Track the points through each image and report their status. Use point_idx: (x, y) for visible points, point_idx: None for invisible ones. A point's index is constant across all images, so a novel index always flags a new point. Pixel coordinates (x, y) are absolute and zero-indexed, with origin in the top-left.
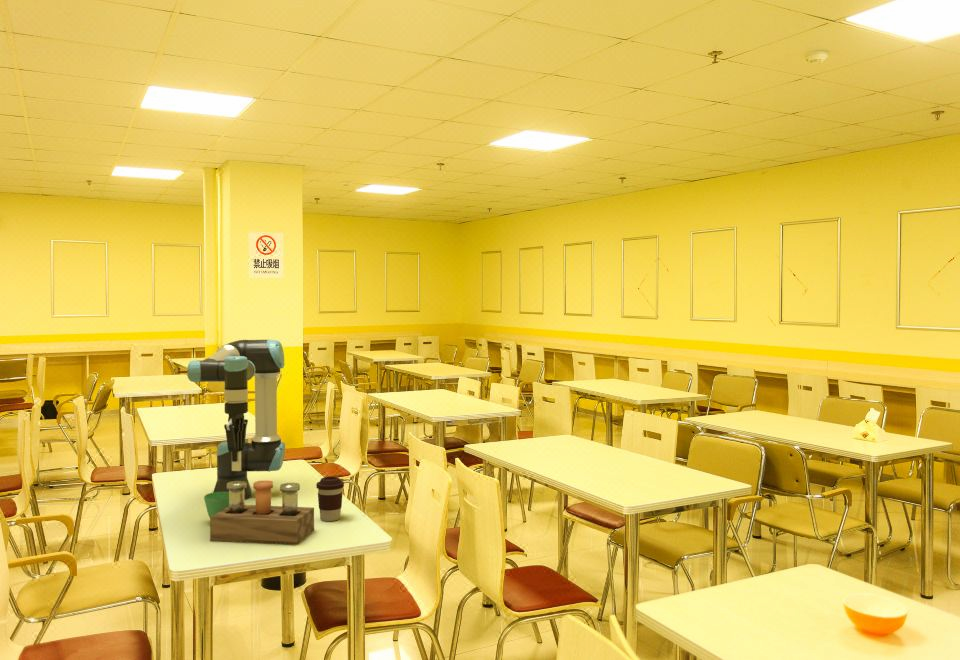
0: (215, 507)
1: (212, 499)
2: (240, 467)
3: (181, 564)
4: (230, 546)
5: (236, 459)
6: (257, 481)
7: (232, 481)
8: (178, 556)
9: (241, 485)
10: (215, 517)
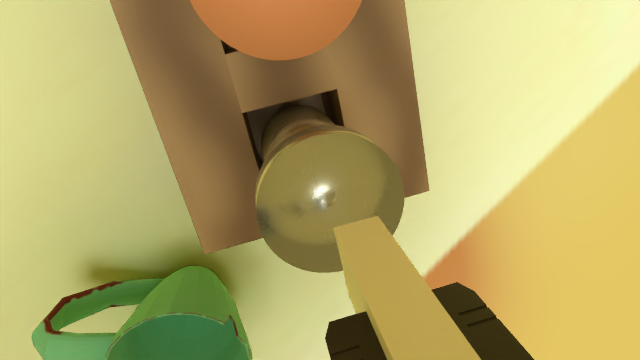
0: (236, 314)
1: (248, 347)
2: (359, 237)
3: (617, 69)
4: (423, 38)
5: (462, 301)
6: (255, 54)
7: (304, 266)
8: (552, 137)
9: (359, 137)
10: (425, 165)
